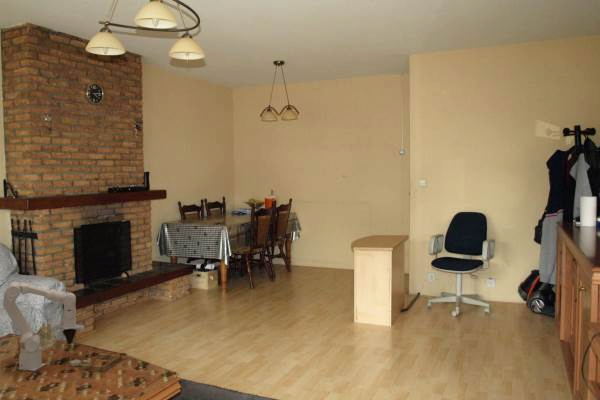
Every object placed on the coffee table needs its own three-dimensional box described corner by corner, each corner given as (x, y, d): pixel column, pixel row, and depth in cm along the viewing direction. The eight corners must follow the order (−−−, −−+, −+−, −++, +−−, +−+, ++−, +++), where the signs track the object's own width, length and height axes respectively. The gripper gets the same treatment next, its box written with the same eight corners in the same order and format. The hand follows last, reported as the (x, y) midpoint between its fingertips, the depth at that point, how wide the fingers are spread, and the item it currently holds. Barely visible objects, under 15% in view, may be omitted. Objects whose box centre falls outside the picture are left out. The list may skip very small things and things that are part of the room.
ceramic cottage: (60, 341, 271) (57, 315, 270) (44, 353, 255) (41, 326, 253) (33, 342, 271) (30, 317, 270) (15, 354, 255) (12, 327, 253)
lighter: (69, 364, 238) (77, 368, 233) (69, 361, 238) (77, 365, 233) (82, 360, 243) (91, 364, 239) (82, 357, 243) (91, 360, 239)
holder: (79, 369, 232) (78, 364, 232) (98, 357, 247) (98, 353, 247) (103, 372, 229) (103, 367, 229) (122, 360, 244) (121, 355, 244)
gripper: (51, 318, 237) (51, 345, 238) (78, 320, 236) (79, 346, 236) (59, 314, 244) (60, 340, 245) (86, 315, 243) (86, 341, 243)
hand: (70, 343), depth 241 cm, fingers closed
